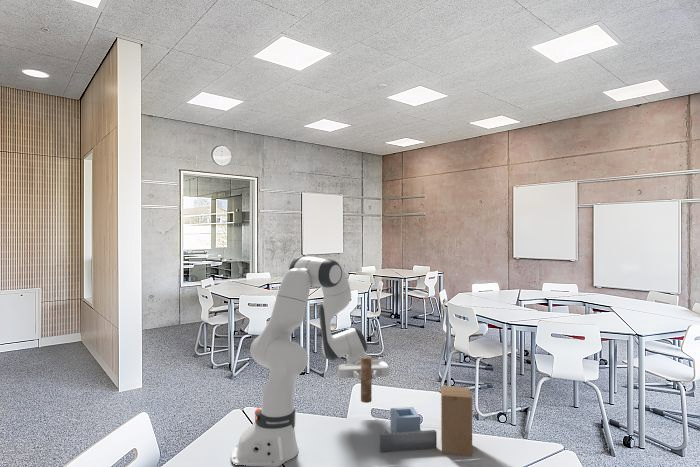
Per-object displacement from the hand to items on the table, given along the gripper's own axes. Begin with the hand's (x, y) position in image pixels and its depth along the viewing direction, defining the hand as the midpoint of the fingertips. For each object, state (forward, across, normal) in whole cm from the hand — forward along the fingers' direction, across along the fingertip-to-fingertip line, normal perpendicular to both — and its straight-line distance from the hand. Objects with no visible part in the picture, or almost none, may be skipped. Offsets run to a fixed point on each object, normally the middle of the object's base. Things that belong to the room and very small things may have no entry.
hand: (366, 377), depth 152 cm
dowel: (-1, 0, +9) cm, 9 cm away
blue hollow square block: (+1, +14, +22) cm, 26 cm away
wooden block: (+13, +30, +22) cm, 39 cm away
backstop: (+5, +13, +22) cm, 26 cm away
